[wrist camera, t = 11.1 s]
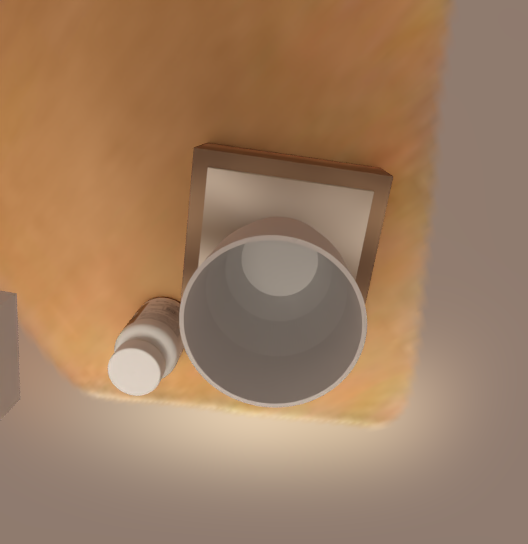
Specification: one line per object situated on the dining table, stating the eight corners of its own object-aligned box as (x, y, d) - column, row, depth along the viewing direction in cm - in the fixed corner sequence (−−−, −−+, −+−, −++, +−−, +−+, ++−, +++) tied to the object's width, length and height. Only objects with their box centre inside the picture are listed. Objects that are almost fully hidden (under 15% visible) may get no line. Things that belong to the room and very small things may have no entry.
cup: (240, 332, 32) (217, 425, 23) (196, 218, 30) (150, 268, 20) (359, 298, 31) (388, 382, 21) (323, 176, 28) (336, 209, 19)
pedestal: (207, 142, 33) (192, 148, 28) (380, 167, 33) (394, 177, 28) (192, 302, 37) (177, 330, 32) (347, 325, 37) (354, 357, 32)
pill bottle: (135, 295, 37) (95, 340, 30) (191, 296, 37) (165, 342, 30) (139, 346, 38) (102, 401, 31) (193, 348, 38) (169, 404, 31)
